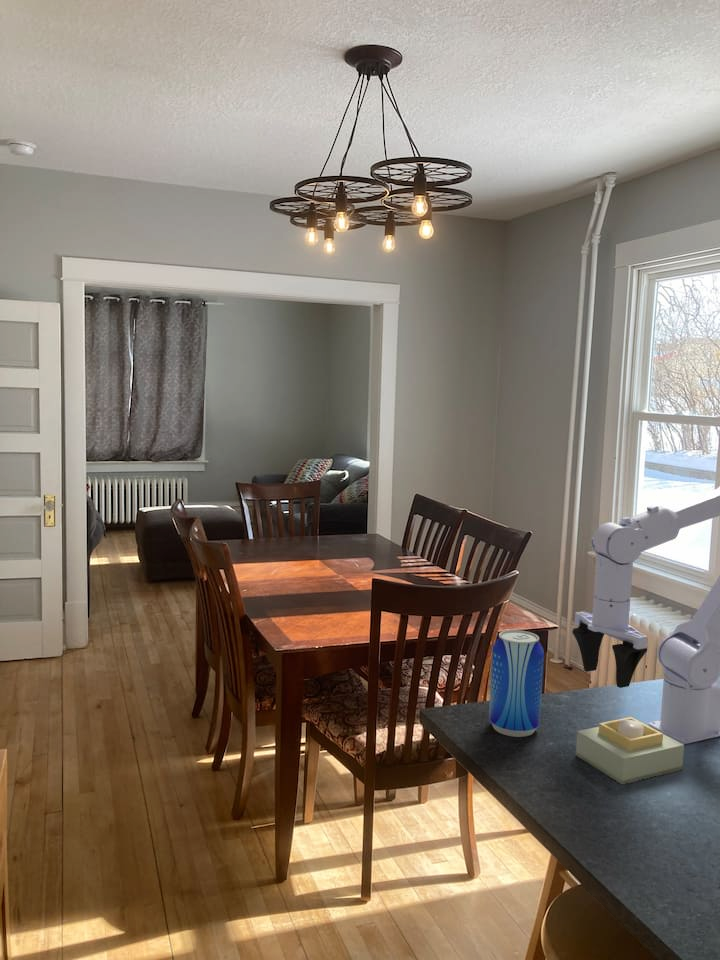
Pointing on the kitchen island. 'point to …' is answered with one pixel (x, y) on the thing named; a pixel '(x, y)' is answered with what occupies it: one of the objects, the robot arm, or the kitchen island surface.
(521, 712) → the beer can
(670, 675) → the robot arm
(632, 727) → the pellet
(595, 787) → the kitchen island surface
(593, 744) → the square stacking base
